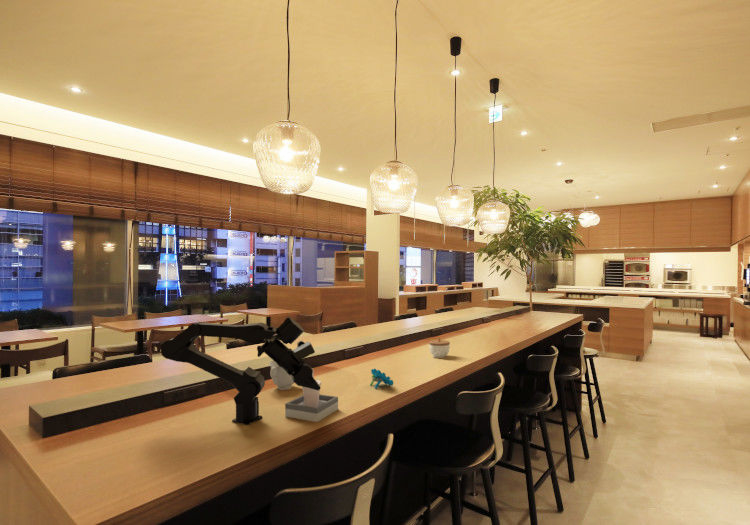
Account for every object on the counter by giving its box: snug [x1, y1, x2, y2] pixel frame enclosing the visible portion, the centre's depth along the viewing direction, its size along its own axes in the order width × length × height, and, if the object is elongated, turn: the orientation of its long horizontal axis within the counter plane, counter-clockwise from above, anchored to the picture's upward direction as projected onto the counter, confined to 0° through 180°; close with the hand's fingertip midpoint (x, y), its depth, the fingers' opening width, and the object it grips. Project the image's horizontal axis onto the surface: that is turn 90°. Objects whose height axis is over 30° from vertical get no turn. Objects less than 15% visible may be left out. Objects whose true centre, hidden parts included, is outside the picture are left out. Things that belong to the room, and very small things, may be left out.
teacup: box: [268, 360, 295, 391], centre depth 151 cm, size 12×15×10 cm
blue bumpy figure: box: [369, 368, 394, 389], centre depth 151 cm, size 11×6×10 cm
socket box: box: [284, 393, 339, 423], centre depth 125 cm, size 12×12×4 cm
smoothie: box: [300, 368, 322, 407], centre depth 125 cm, size 6×6×14 cm
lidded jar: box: [428, 338, 451, 359], centre depth 203 cm, size 11×11×9 cm
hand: (316, 385), depth 125 cm, fingers open, 9 cm apart
